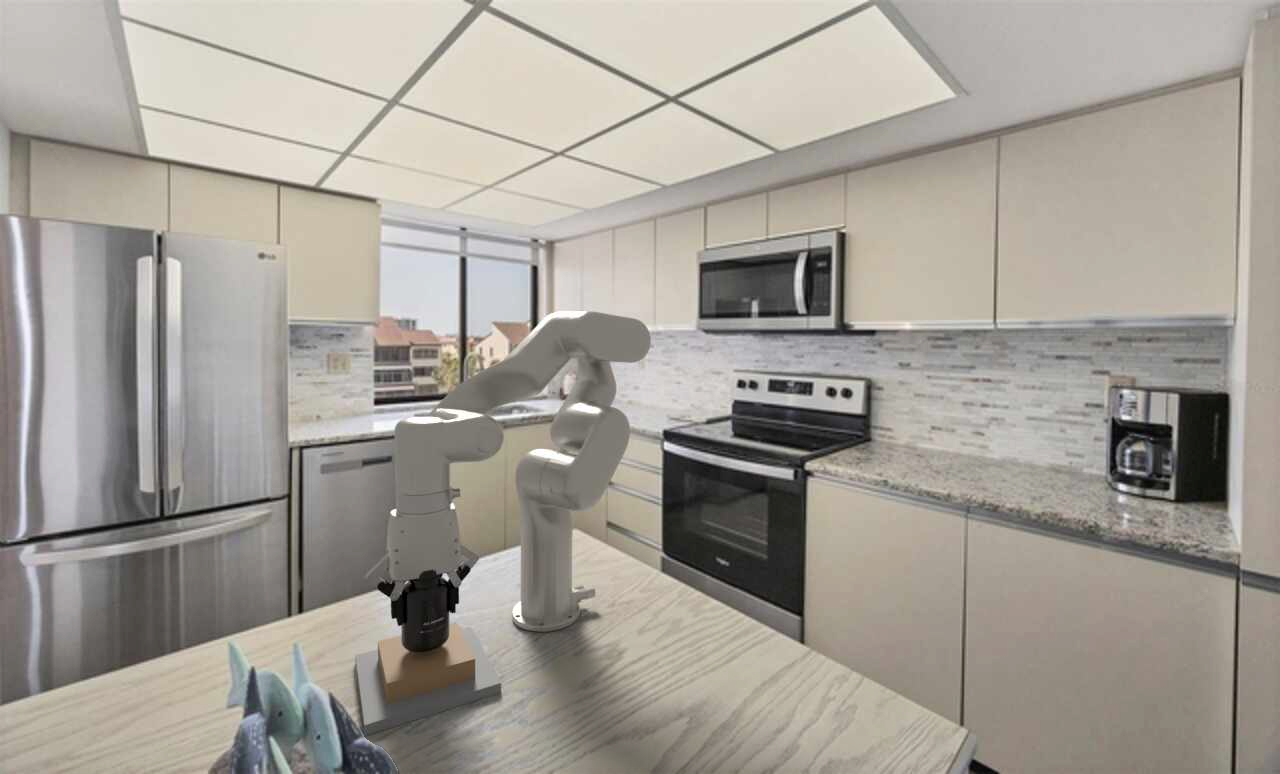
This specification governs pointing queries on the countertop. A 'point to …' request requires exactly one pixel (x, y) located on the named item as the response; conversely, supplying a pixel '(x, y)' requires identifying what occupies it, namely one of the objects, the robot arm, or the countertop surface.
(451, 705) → the pedestal
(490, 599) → the countertop surface
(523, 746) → the countertop surface
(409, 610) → the supplement bottle
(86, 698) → the countertop surface
